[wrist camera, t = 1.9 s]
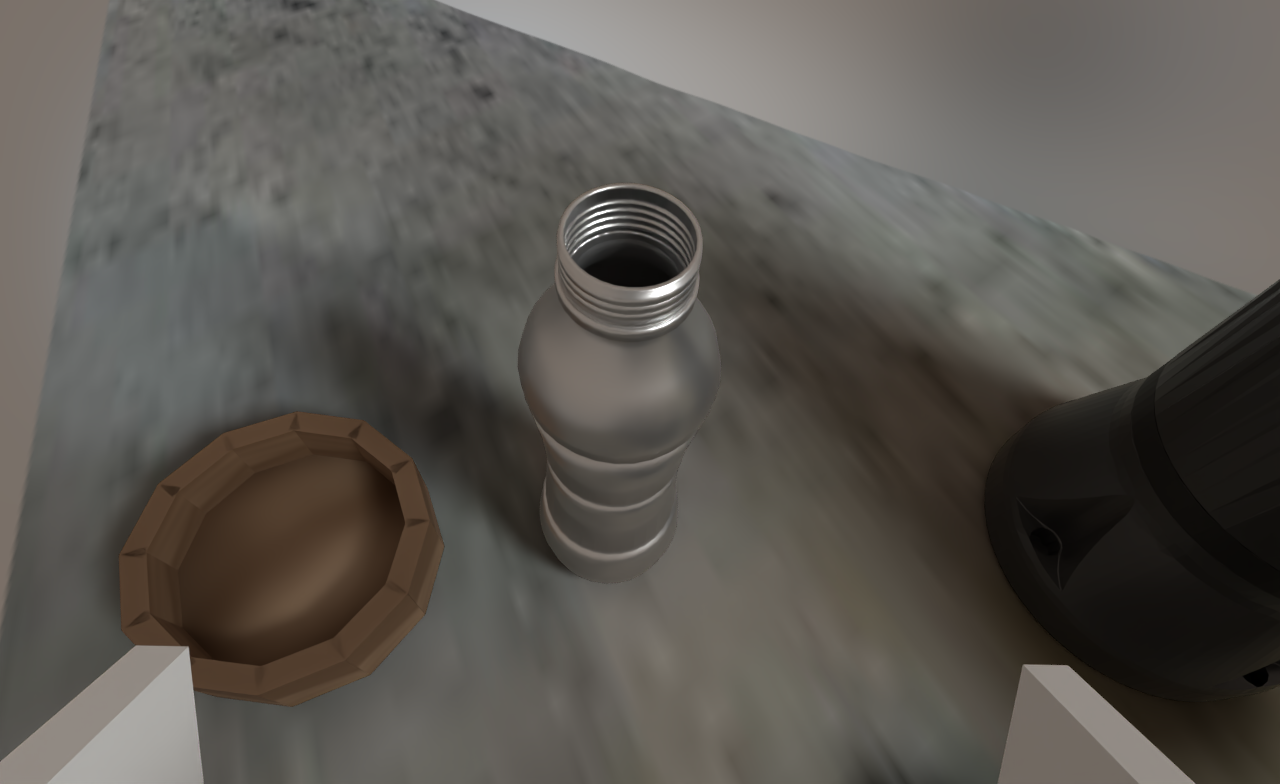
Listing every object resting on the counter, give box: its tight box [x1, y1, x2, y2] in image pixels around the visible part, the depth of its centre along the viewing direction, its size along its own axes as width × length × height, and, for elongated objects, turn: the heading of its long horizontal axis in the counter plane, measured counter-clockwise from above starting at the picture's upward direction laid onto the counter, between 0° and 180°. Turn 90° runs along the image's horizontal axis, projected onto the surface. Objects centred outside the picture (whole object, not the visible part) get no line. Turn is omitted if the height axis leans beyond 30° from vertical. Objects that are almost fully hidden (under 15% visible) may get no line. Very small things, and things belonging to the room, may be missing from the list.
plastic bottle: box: [518, 183, 721, 584], centre depth 24 cm, size 6×7×20 cm
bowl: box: [119, 411, 444, 707], centre depth 29 cm, size 12×12×4 cm
